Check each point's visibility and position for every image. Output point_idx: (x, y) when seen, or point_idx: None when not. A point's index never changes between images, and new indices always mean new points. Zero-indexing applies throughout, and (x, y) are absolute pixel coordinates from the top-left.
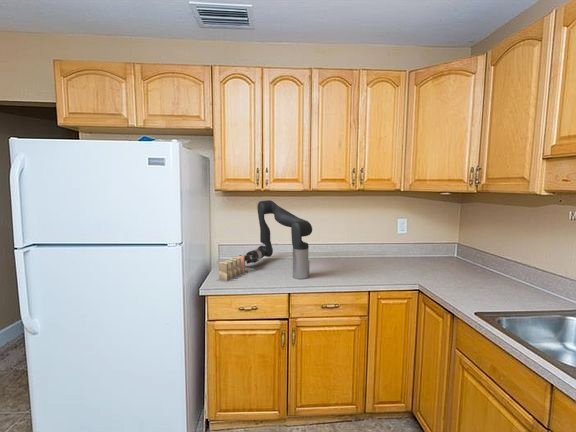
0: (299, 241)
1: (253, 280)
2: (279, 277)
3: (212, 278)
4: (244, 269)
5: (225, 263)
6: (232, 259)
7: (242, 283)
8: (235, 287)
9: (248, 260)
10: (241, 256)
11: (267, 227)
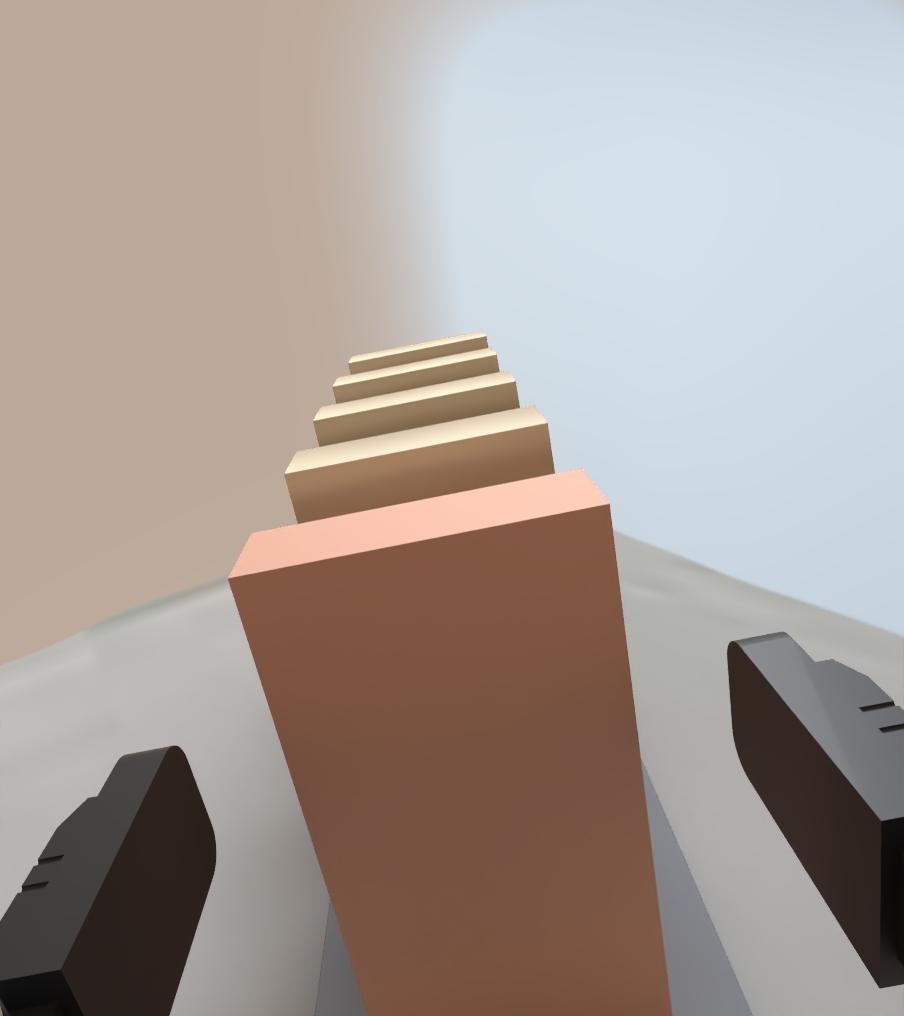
0: None
1: (36, 813)
2: None
3: (717, 587)
4: (369, 989)
5: (370, 353)
6: (411, 395)
7: (191, 670)
8: (230, 589)
9: (110, 813)
10: (356, 525)
11: None
